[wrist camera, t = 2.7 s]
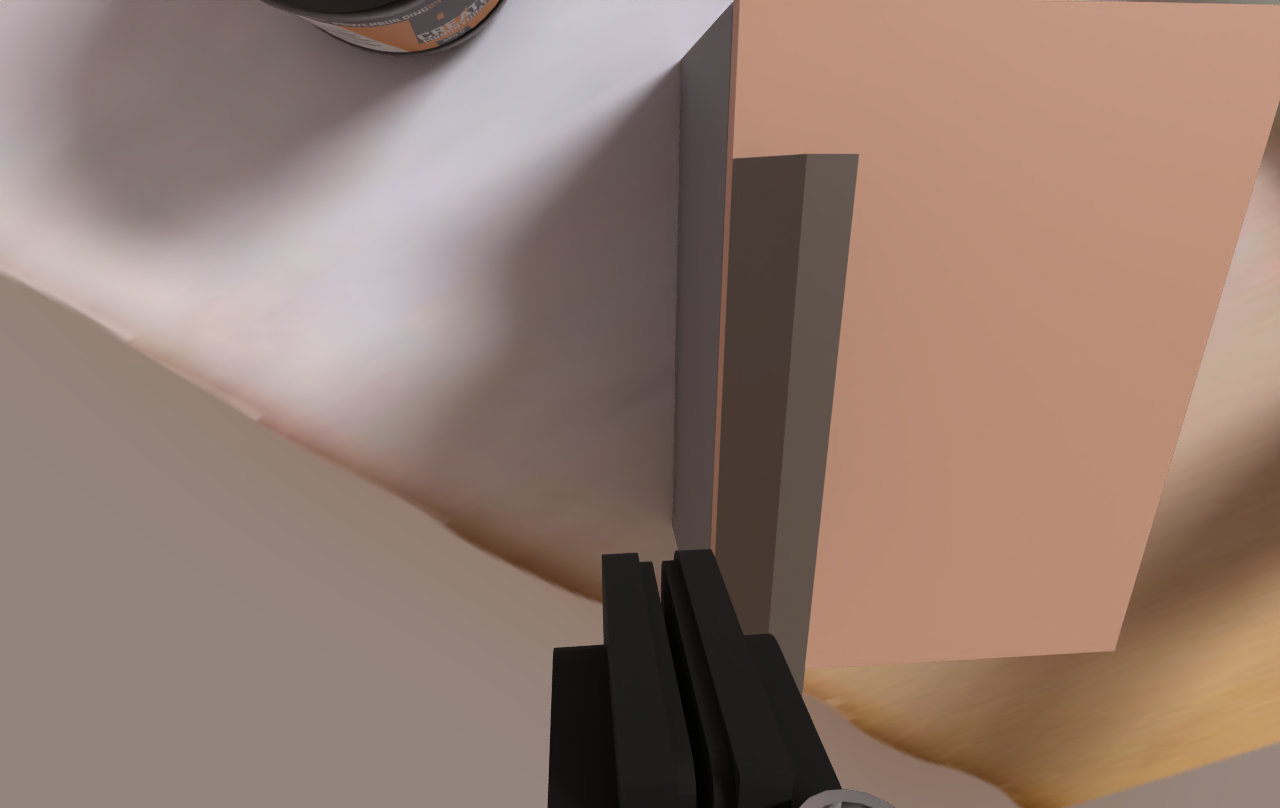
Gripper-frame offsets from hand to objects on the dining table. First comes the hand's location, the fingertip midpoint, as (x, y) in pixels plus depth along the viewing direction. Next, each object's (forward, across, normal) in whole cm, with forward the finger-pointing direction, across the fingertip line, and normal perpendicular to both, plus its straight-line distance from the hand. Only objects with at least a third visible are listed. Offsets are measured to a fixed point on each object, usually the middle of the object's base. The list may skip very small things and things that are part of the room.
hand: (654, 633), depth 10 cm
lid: (+12, -11, 0) cm, 16 cm away
